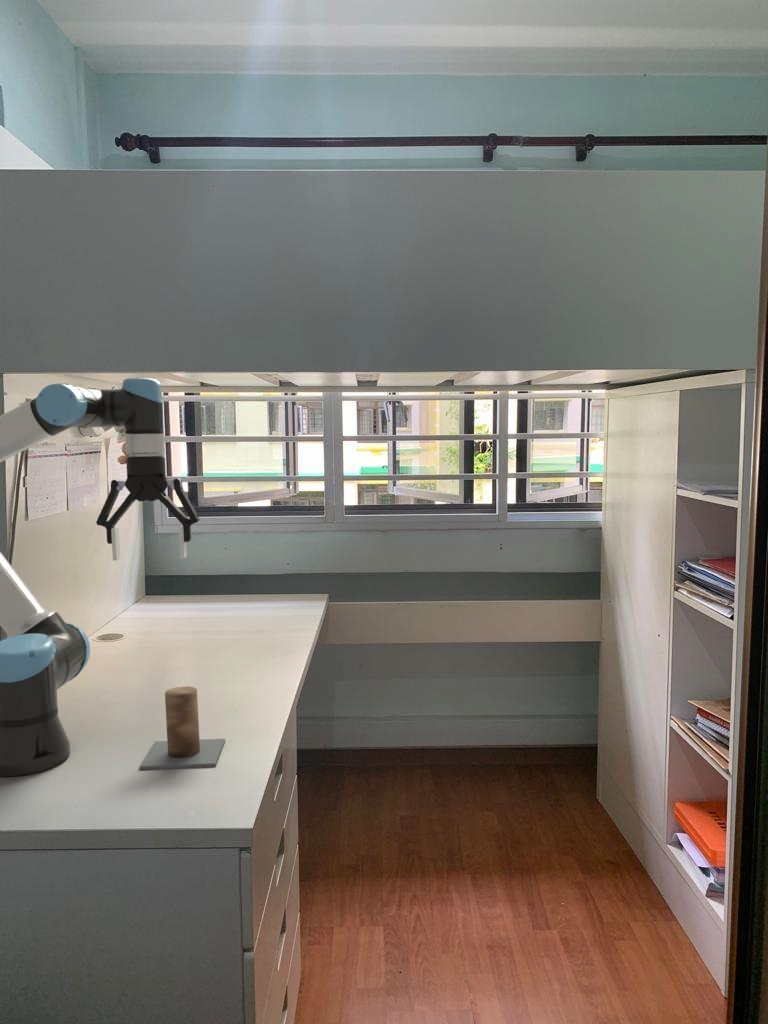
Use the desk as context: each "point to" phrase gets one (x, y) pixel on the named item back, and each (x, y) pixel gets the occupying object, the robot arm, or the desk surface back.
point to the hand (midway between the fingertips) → (150, 558)
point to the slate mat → (204, 758)
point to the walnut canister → (182, 722)
